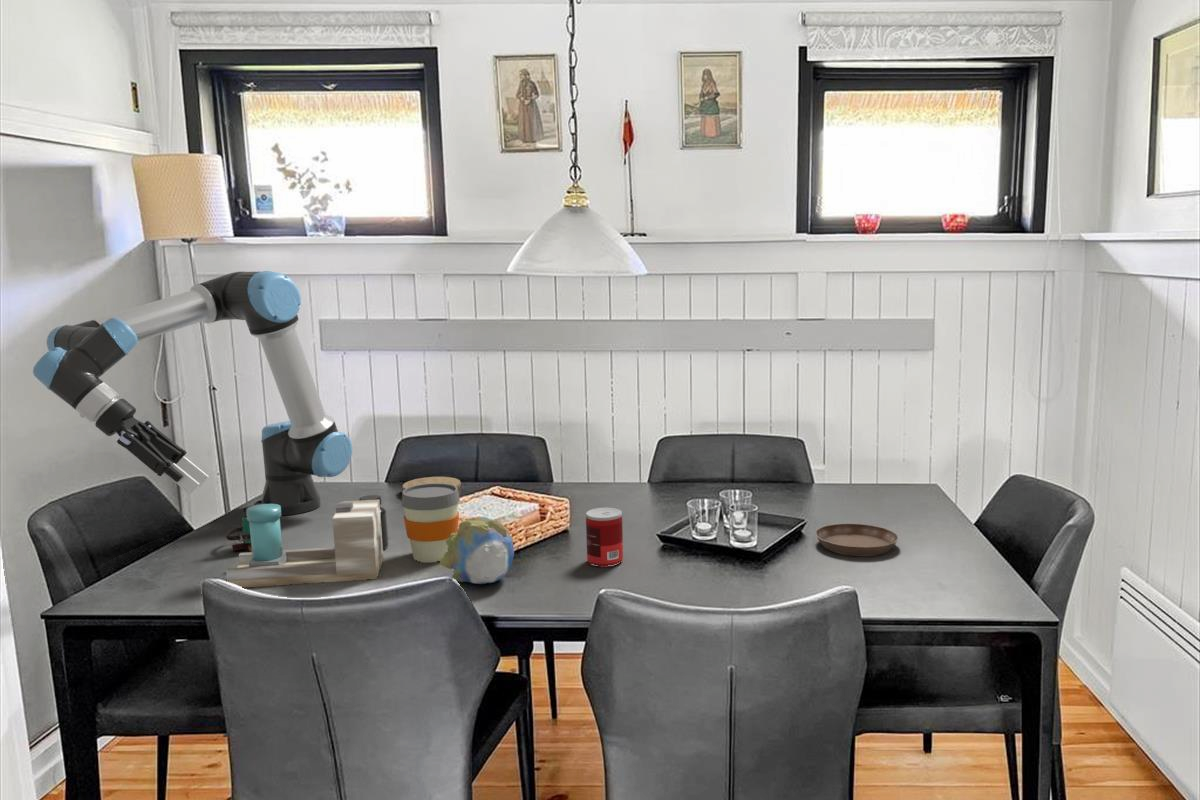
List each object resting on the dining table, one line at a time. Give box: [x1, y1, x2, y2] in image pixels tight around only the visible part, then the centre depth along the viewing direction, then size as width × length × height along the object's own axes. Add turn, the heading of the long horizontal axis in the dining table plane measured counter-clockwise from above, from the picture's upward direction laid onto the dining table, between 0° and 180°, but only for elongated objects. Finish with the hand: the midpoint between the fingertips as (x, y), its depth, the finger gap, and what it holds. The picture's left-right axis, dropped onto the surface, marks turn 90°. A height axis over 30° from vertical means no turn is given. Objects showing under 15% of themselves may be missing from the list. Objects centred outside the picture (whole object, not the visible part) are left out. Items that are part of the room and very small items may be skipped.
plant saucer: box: [815, 523, 899, 557], centre depth 211 cm, size 18×18×3 cm
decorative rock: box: [439, 516, 515, 585], centre depth 195 cm, size 14×16×15 cm
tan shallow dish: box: [402, 476, 462, 495], centre depth 264 cm, size 16×16×3 cm
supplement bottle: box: [358, 494, 390, 551], centre depth 217 cm, size 7×7×12 cm
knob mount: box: [225, 499, 384, 588], centre depth 201 cm, size 13×30×14 cm, turn 97°
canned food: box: [585, 507, 624, 566], centre depth 204 cm, size 8×8×11 cm
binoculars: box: [225, 499, 264, 552], centre depth 220 cm, size 9×11×10 cm
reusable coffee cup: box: [401, 483, 460, 563], centre depth 210 cm, size 13×13×15 cm
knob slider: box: [246, 504, 287, 567], centre depth 200 cm, size 7×7×13 cm
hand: (199, 485), depth 197 cm, fingers open, 6 cm apart
